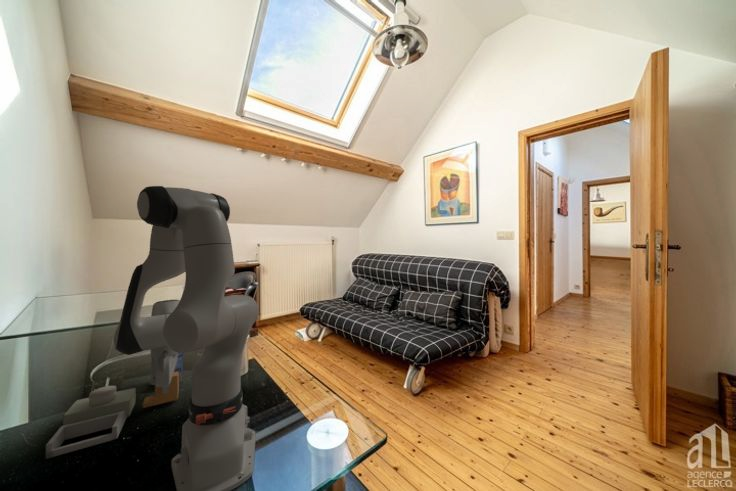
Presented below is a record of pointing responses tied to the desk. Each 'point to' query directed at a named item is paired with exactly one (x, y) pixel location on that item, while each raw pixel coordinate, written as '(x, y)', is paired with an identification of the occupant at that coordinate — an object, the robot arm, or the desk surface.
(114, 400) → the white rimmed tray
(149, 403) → the orange upright block
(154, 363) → the ink cartridge box
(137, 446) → the desk surface
